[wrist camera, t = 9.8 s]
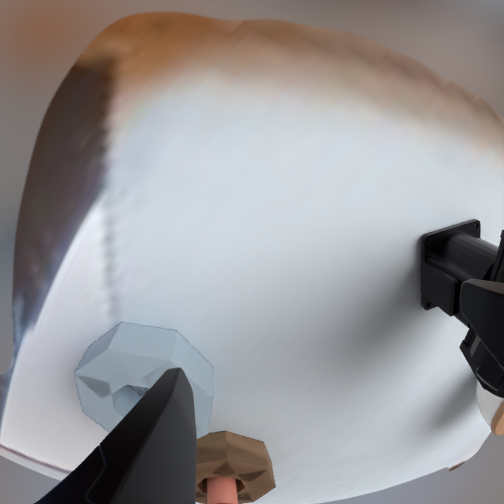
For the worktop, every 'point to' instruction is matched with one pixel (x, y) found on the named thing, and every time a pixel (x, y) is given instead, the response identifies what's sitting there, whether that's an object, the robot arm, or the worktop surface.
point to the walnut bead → (233, 465)
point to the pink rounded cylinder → (221, 490)
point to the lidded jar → (491, 409)
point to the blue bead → (139, 372)
